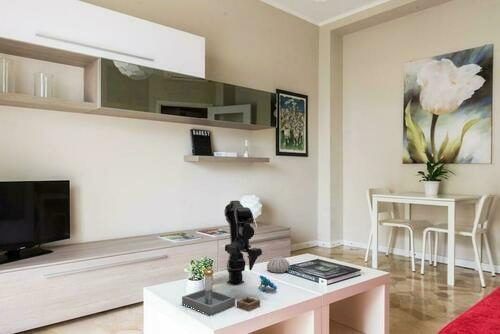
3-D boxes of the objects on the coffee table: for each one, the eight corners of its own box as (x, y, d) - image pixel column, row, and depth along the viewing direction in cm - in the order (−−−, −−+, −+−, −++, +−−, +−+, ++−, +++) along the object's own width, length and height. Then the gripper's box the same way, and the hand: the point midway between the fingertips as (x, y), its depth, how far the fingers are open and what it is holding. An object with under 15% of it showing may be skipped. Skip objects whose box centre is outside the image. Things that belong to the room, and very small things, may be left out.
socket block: (236, 307, 150) (236, 301, 150) (247, 302, 155) (247, 296, 155) (249, 311, 145) (249, 305, 145) (260, 306, 151) (260, 300, 151)
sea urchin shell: (293, 273, 199) (293, 259, 199) (269, 274, 196) (269, 260, 196) (286, 267, 212) (286, 253, 212) (264, 268, 209) (264, 254, 209)
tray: (182, 304, 152) (182, 296, 152) (206, 296, 163) (206, 288, 163) (210, 316, 141) (210, 307, 141) (234, 305, 151) (234, 297, 151)
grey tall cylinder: (202, 302, 153) (202, 269, 153) (211, 301, 154) (211, 268, 154) (205, 305, 149) (205, 272, 149) (214, 304, 151) (214, 271, 151)
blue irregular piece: (281, 289, 168) (267, 275, 166) (274, 299, 165) (259, 286, 163) (270, 285, 178) (256, 272, 176) (263, 295, 175) (249, 282, 173)
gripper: (216, 234, 166) (216, 268, 166) (246, 240, 154) (246, 276, 153) (232, 231, 174) (232, 263, 174) (262, 236, 162) (262, 270, 162)
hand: (243, 268), depth 166 cm, fingers open, 9 cm apart
